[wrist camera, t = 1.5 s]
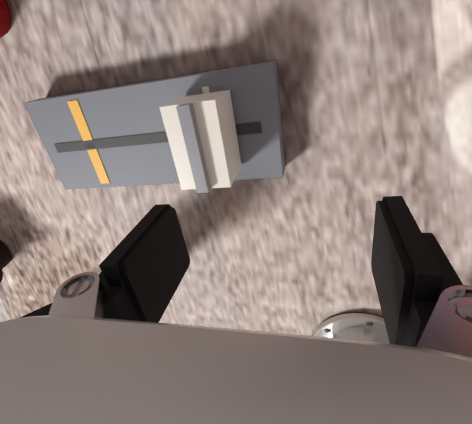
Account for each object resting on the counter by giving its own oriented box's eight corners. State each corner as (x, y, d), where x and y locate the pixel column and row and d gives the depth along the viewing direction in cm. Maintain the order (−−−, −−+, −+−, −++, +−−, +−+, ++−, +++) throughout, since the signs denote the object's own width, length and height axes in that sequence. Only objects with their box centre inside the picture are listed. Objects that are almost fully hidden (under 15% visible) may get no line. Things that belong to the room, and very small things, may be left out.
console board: (276, 60, 26) (272, 63, 24) (285, 165, 31) (282, 177, 28) (45, 97, 33) (22, 103, 31) (81, 179, 38) (64, 189, 35)
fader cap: (229, 89, 25) (211, 101, 21) (241, 167, 28) (228, 191, 24) (181, 96, 26) (154, 109, 22) (198, 169, 30) (178, 193, 25)
